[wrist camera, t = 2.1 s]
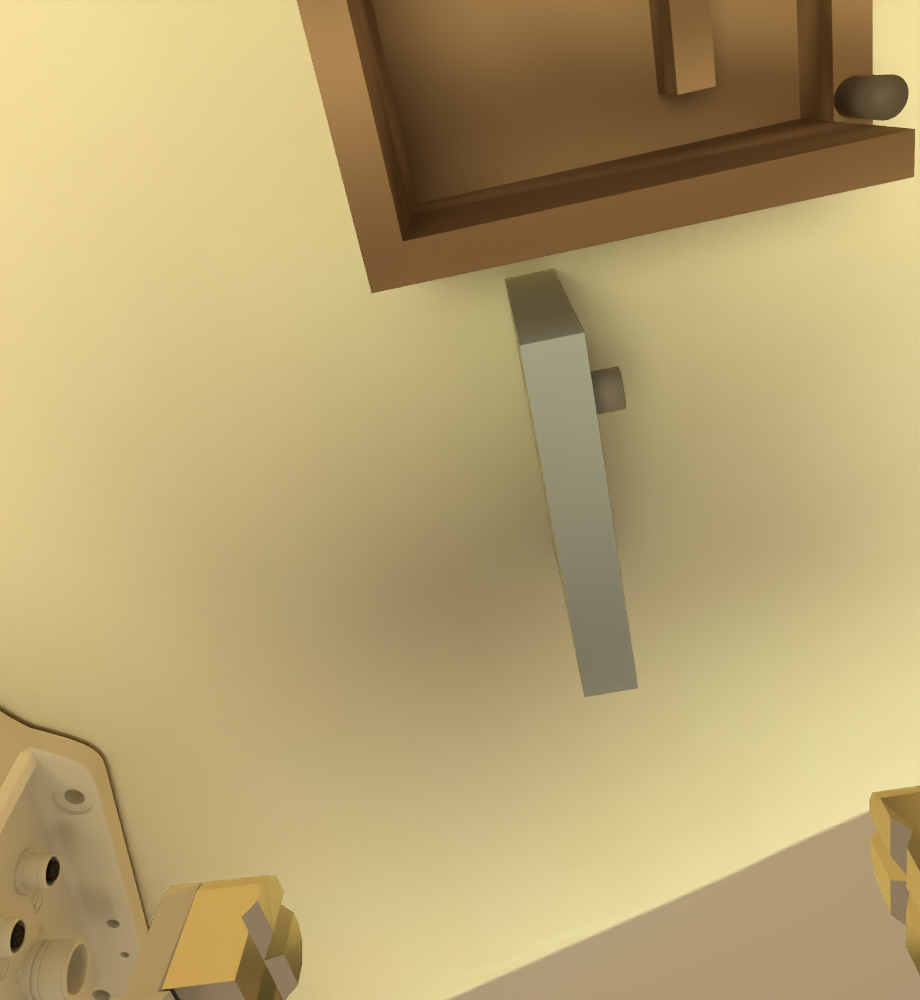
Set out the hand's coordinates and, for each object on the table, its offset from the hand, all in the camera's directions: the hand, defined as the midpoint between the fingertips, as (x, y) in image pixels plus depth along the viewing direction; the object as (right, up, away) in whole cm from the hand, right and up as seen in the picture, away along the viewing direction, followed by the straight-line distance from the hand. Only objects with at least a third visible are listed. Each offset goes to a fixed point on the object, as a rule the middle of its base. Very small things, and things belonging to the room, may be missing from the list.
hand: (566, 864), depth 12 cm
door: (+2, +8, +19) cm, 20 cm away
